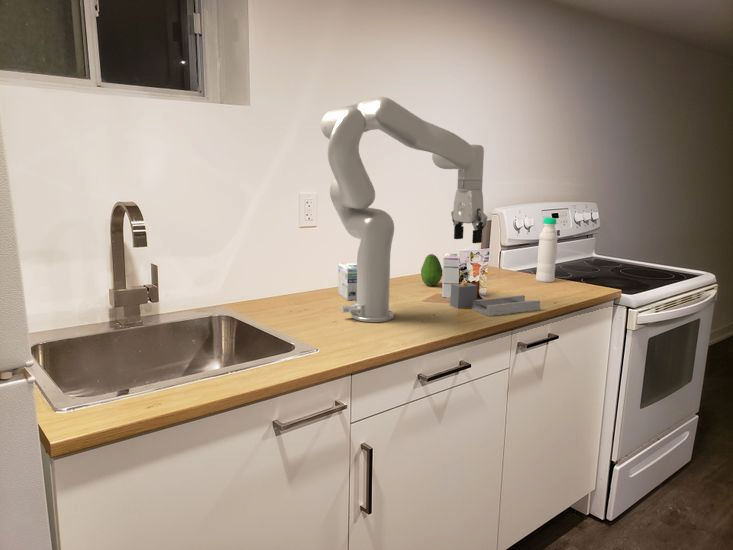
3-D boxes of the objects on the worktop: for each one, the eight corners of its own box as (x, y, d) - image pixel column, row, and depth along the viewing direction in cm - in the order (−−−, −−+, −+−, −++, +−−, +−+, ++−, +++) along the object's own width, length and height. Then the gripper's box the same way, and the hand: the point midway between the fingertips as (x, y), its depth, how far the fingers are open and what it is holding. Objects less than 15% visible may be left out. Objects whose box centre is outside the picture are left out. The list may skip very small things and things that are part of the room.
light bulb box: (366, 299, 186) (366, 267, 183) (346, 301, 183) (347, 268, 181) (355, 292, 195) (356, 262, 193) (337, 293, 193) (337, 263, 191)
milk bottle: (556, 282, 218) (562, 218, 214) (538, 282, 218) (543, 218, 214) (551, 279, 225) (556, 217, 220) (533, 278, 225) (538, 216, 221)
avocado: (417, 286, 207) (419, 254, 204) (424, 282, 214) (425, 251, 212) (438, 288, 204) (440, 256, 201) (444, 284, 211) (445, 253, 209)
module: (458, 308, 176) (459, 284, 174) (450, 305, 180) (451, 281, 178) (476, 306, 179) (477, 283, 177) (467, 303, 183) (469, 280, 181)
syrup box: (458, 298, 189) (460, 256, 186) (441, 297, 190) (443, 255, 188) (459, 295, 195) (461, 253, 192) (442, 293, 196) (444, 253, 193)
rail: (489, 316, 167) (490, 306, 167) (471, 309, 175) (472, 300, 175) (540, 310, 176) (541, 300, 176) (521, 303, 184) (521, 294, 183)
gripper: (443, 184, 178) (442, 238, 181) (477, 187, 163) (474, 245, 166) (463, 184, 181) (461, 236, 185) (497, 186, 166) (494, 243, 169)
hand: (467, 240), depth 175 cm, fingers open, 9 cm apart
